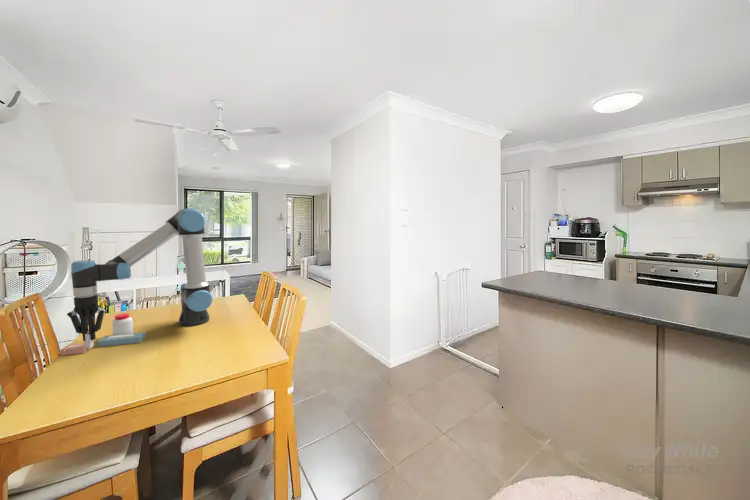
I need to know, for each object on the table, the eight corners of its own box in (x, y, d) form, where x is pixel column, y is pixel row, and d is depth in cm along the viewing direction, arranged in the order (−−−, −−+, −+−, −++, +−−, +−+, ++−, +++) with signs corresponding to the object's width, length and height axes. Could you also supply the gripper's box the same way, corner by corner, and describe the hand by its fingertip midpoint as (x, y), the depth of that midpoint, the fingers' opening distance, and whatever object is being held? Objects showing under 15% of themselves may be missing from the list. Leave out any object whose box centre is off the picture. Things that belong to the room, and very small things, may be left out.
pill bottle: (137, 334, 150) (135, 313, 148) (119, 340, 142) (118, 318, 141) (127, 332, 152) (125, 311, 151) (109, 337, 145) (107, 316, 144)
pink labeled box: (92, 347, 134) (91, 341, 134) (84, 353, 128) (83, 347, 128) (69, 349, 131) (69, 344, 131) (60, 355, 126) (60, 349, 125)
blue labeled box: (146, 337, 146) (145, 332, 146) (139, 342, 140) (139, 337, 140) (106, 340, 141) (106, 335, 141) (98, 346, 135) (97, 341, 134)
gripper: (108, 292, 134) (112, 342, 137) (72, 294, 130) (76, 345, 132) (99, 296, 127) (103, 348, 130) (60, 298, 123) (65, 352, 125)
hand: (90, 347), depth 131 cm, fingers closed
